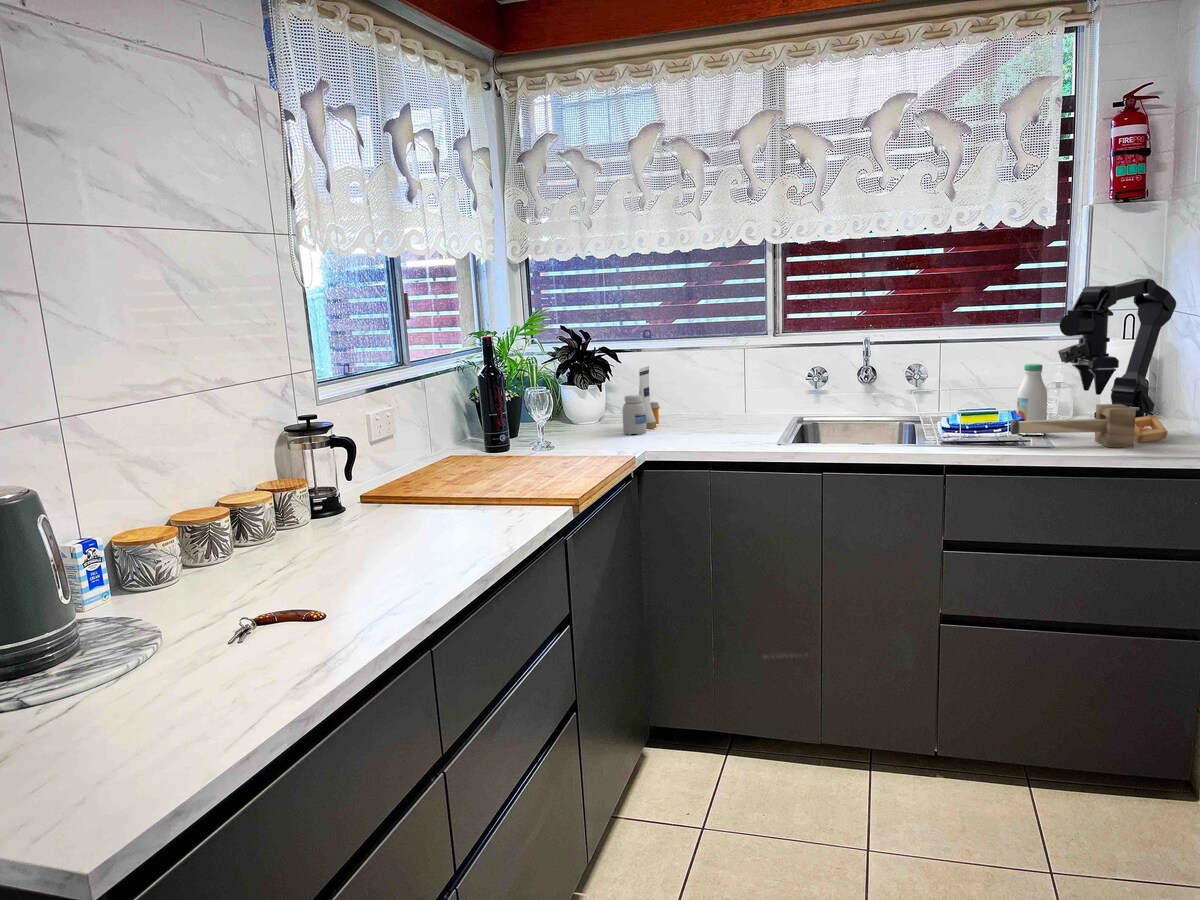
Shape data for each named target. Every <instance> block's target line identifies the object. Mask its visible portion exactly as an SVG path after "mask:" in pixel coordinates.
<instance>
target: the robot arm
mask: <svg viewBox="0 0 1200 900" xmlns="http://www.w3.org/2000/svg"><path fill="white" fill-rule="evenodd" d="M1129 298H1133V304H1134V305H1135V306H1136V307H1137V312H1136V313H1137V316H1138V319H1139V322H1140V325H1139V328H1138V331H1137V335H1136V339H1135V341H1134V344H1133V348H1132V351H1131V354H1130V358H1129V360H1128V365H1127V366H1126V371H1125V373H1124V374H1123V375H1122V376H1121V377H1118V376H1117V377H1115V379H1113V380H1114V381H1113V385H1112V388H1111V389H1110V391H1111V393H1110V401H1111V404H1122V405H1125V406H1128V407H1131V408H1134V409H1136V415H1135V418H1138V417H1144V416H1146V415H1145V414H1150V413H1153V412H1154V409H1155V403H1154V402H1153V400H1152V398H1151V397H1150V395H1149V389H1150V387H1149V384H1148V380H1147V374H1148V371H1149V367H1150V363H1151V362H1152V361H1151V360H1152V358H1153V355H1154V351H1155V347H1156V345H1157V341H1158V338H1159V335H1160V332H1161V329H1162V328H1163V327H1164V325H1165V324H1167V323H1168V322H1169V321H1170V320H1171V319H1172V316H1173V314H1174V312H1175V309H1176V308H1177V302H1176V301H1177V300H1176V299H1175V298H1174V297H1173V295H1172V294H1171V293H1170V291H1168V290H1167V289H1166V288H1164V287H1162V286H1161V285H1159V284H1157V282H1156V281H1155V280H1154V279H1151V278H1136V279H1134V280H1131V281H1126V282H1121V283H1118V284H1113V285H1104V286H1103V285H1097V286H1096V285H1093V286H1092V285H1090V286H1084V287H1083V288H1082V291H1081V292H1080V294H1079V295H1078V297H1077V299H1076V301H1075V303H1074V304H1073V307H1072V308H1071V309H1068V310H1067V312H1066V313H1067V314H1066V315H1065V316H1063V317H1062V318H1061V320H1060V322H1059V329H1060V332H1061V333H1062V334H1063V335H1064V336H1065V337H1077V336H1082V337H1079V339H1078V343H1076V344H1072V345H1071V346H1067V347H1065V348H1061V349H1059V350H1057V353H1058V354H1059V358H1060V360H1061V362H1062V363H1065V364H1067V363H1070V364H1072V367H1074V369H1076V370H1077V371H1078V373H1079V377H1080V381H1081V384H1082V387H1083V391H1086V392H1087V391H1090V388H1091V385H1092V383H1093V380H1094V389H1095V390H1094V391H1095V395H1098V396H1099V395H1102V393H1103V391H1104V390H1105V387H1106V386H1107V384H1108V382H1109V381H1110V379H1111V378H1112V376H1113V374H1114V372H1116V371H1117V369H1118V368H1119V367H1120V366H1119V365H1120V360H1119V359H1118V358H1117V357H1116V356H1111V355H1110V354H1109V353H1108V352H1107V350H1108V349H1107V347H1108V344H1107V343H1110V342H1111V341H1110V337H1108V328H1109V327H1108V326H1109V317H1112V316H1114V312H1113V311H1112V310H1110V309H1109V308H1111V307H1113V306H1114V305H1116V304H1117V302H1118V301H1120V300H1125V299H1129ZM1143 428H1145V427H1143Z"/></svg>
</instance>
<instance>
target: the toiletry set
mask: <svg viewBox="0 0 1200 900" xmlns="http://www.w3.org/2000/svg"><path fill="white" fill-rule="evenodd" d="M638 369H639V373H638V374H639V386H638V387H639V388H638V389H639V390H638V394H633V395H632V394H631V395H625V396H624V403H623V406H622V425H623V430H622V431H623V434H624V433H625V434H624V435H626V434H642V435H644V434H643V433H645V434H646V433H647V430H646V429H653V430H655V429H654V428H656V429H657V425H656V424H659V425H660V422H659V421H660V419H659V418H660V417H659V416H660V414H659V412H660V411H659V409H661V407H660V404H659V402H658V401H651V395H650V366H649V365H647V366H645V367H641V368H638Z"/></svg>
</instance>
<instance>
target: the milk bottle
mask: <svg viewBox="0 0 1200 900" xmlns="http://www.w3.org/2000/svg"><path fill="white" fill-rule="evenodd" d="M1023 367H1024V368H1023V369H1024V378H1023V380H1022V382H1021V384H1020V386H1019V388H1018V390H1017V391H1018V392H1017V397H1016V398H1017V400H1016V416H1017V415H1018V416H1019V417H1021V418H1023V419H1024V420H1048V419H1047V418H1048V417H1047V416H1048V392H1047V391H1048V390H1047V388H1046V384H1045V383H1044V381H1043V377H1042V373H1043V364H1042V363H1041V364H1040V363H1027V364H1025V365H1024V366H1023ZM1043 434H1045V435H1046V434H1047V433H1043Z"/></svg>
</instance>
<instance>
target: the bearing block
mask: <svg viewBox="0 0 1200 900" xmlns="http://www.w3.org/2000/svg"><path fill="white" fill-rule="evenodd" d="M1134 408H1135V407H1133V408H1131V407H1128V406H1125V405H1122V404H1112V403H1110V404H1109V403H1108V404H1107V403H1106V404H1105V403H1104V404H1096V405H1095V419H1106V424H1105V432H1094V442H1095V441H1096V442H1095V443H1097V442H1098V443H1097V444H1099V443H1100V444H1099V445H1101V444H1102V445H1101V446H1103V445H1105V446H1107V447H1132V448H1131V449H1133V448H1134V447H1135V444H1134V443H1135V440H1134V432H1135V415H1136V409H1134ZM1105 446H1104V447H1105ZM1107 447H1106V448H1107Z"/></svg>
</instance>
